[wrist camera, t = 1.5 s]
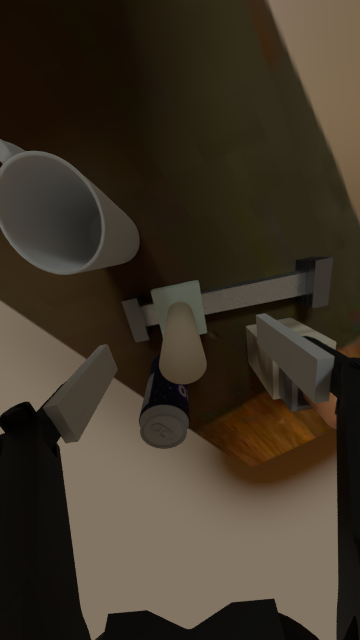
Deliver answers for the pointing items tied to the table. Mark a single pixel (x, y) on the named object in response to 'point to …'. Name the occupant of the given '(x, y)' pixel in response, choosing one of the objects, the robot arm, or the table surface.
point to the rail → (245, 294)
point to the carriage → (181, 331)
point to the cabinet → (272, 373)
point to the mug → (60, 215)
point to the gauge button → (325, 409)
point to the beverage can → (164, 411)
